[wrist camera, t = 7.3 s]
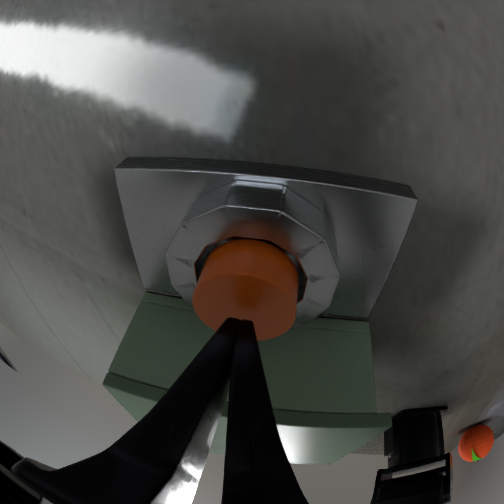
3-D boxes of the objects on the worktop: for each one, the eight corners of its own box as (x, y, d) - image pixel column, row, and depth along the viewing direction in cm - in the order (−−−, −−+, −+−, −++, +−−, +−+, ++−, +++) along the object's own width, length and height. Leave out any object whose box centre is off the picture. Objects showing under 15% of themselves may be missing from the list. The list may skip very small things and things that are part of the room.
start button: (305, 245, 10) (304, 282, 9) (291, 312, 12) (288, 346, 11) (201, 233, 10) (185, 266, 9) (208, 300, 12) (197, 333, 11)
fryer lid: (391, 412, 11) (392, 426, 11) (330, 456, 19) (329, 464, 18) (106, 371, 13) (101, 384, 12) (158, 431, 20) (156, 439, 20)
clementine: (450, 431, 32) (453, 468, 26) (487, 415, 28) (492, 453, 23) (461, 434, 34) (464, 467, 29) (493, 420, 30) (498, 454, 25)
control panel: (409, 185, 10) (434, 227, 8) (365, 301, 15) (371, 347, 13) (127, 157, 12) (88, 189, 9) (151, 273, 16) (130, 313, 14)
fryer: (369, 321, 16) (377, 412, 12) (324, 396, 23) (321, 456, 19) (145, 291, 17) (107, 370, 13) (176, 375, 25) (158, 430, 20)
